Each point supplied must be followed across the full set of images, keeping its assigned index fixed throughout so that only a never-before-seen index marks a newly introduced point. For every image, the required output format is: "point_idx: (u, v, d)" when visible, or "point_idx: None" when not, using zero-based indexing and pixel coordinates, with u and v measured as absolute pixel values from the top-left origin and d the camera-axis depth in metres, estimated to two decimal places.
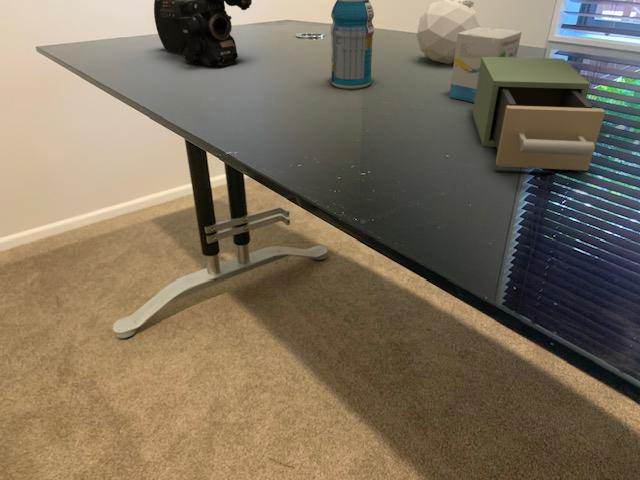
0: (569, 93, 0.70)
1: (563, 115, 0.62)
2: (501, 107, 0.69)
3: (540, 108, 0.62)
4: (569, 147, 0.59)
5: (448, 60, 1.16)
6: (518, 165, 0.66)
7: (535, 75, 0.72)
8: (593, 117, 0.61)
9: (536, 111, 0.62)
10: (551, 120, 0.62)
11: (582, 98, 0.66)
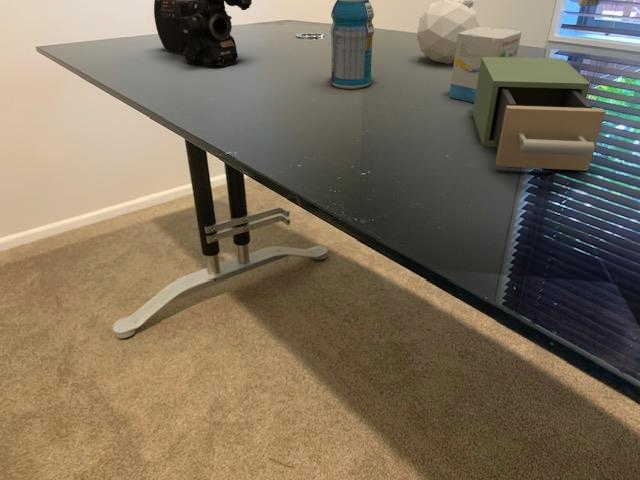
0: (569, 93, 0.70)
1: (563, 115, 0.62)
2: (501, 107, 0.69)
3: (540, 108, 0.62)
4: (569, 147, 0.59)
5: (448, 60, 1.16)
6: (518, 165, 0.66)
7: (535, 75, 0.72)
8: (593, 117, 0.61)
9: (536, 111, 0.62)
10: (551, 120, 0.62)
11: (582, 98, 0.66)
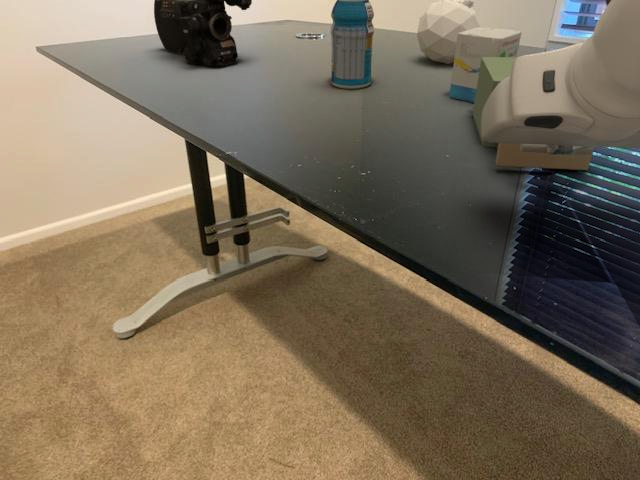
0: None
1: None
2: None
3: None
4: None
5: (448, 60, 1.16)
6: (518, 164, 0.66)
7: None
8: None
9: None
10: None
11: None
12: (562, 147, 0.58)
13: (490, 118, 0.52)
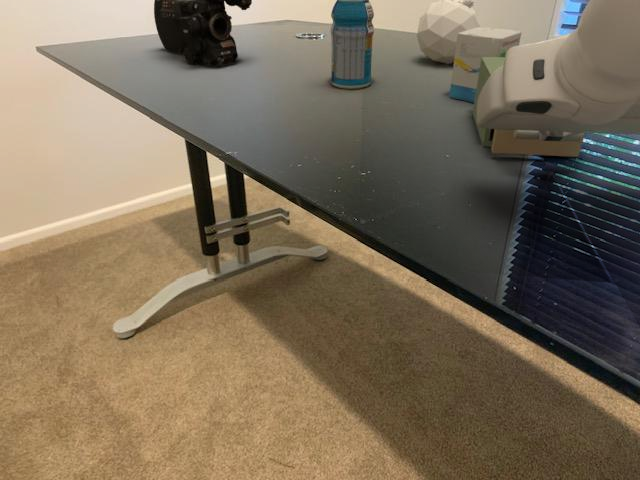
0: None
1: None
2: None
3: None
4: None
5: (448, 60, 1.16)
6: (512, 152, 0.70)
7: None
8: None
9: None
10: None
11: None
12: (553, 134, 0.61)
13: (485, 105, 0.55)
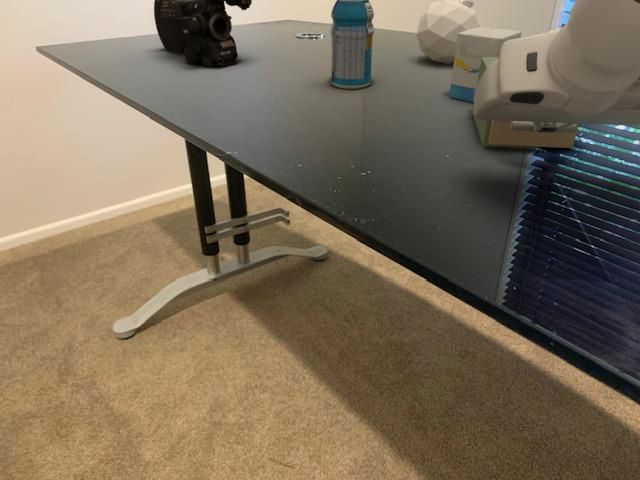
0: None
1: None
2: None
3: None
4: None
5: (448, 60, 1.16)
6: (509, 143, 0.72)
7: None
8: None
9: None
10: None
11: None
12: (547, 125, 0.64)
13: (481, 97, 0.58)
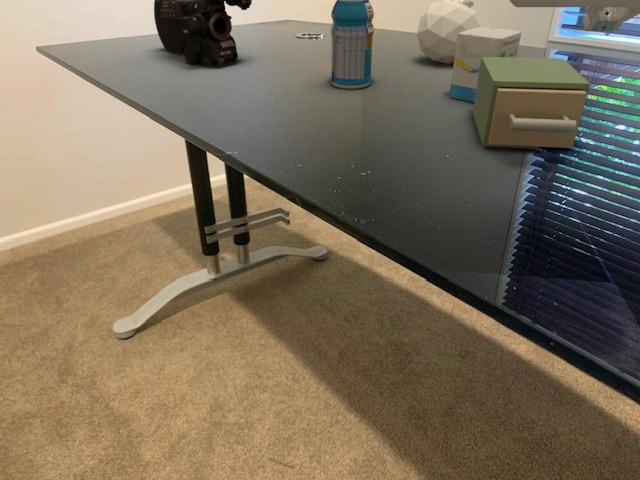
0: None
1: (549, 97, 0.68)
2: None
3: (528, 90, 0.68)
4: (554, 125, 0.66)
5: (448, 60, 1.16)
6: (508, 143, 0.72)
7: (535, 75, 0.72)
8: (576, 98, 0.68)
9: (524, 93, 0.68)
10: (538, 101, 0.69)
11: None
12: (604, 18, 0.48)
13: None
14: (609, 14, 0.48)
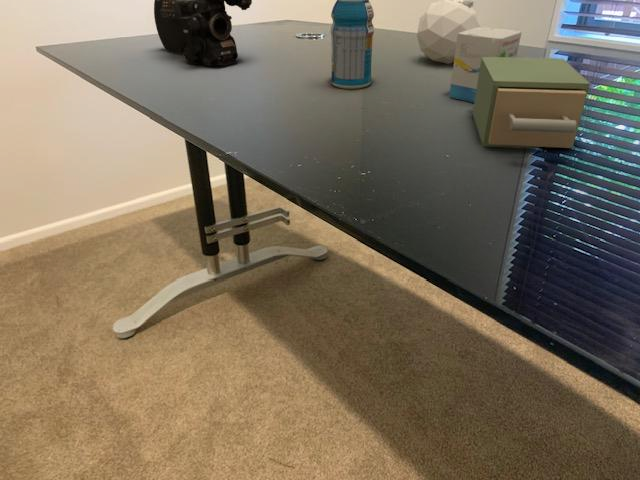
0: None
1: (549, 97, 0.68)
2: None
3: (528, 90, 0.68)
4: (554, 125, 0.66)
5: (448, 60, 1.16)
6: (508, 143, 0.72)
7: (535, 75, 0.72)
8: (576, 98, 0.68)
9: (524, 93, 0.68)
10: (538, 101, 0.69)
11: None
12: None
13: None
14: None
